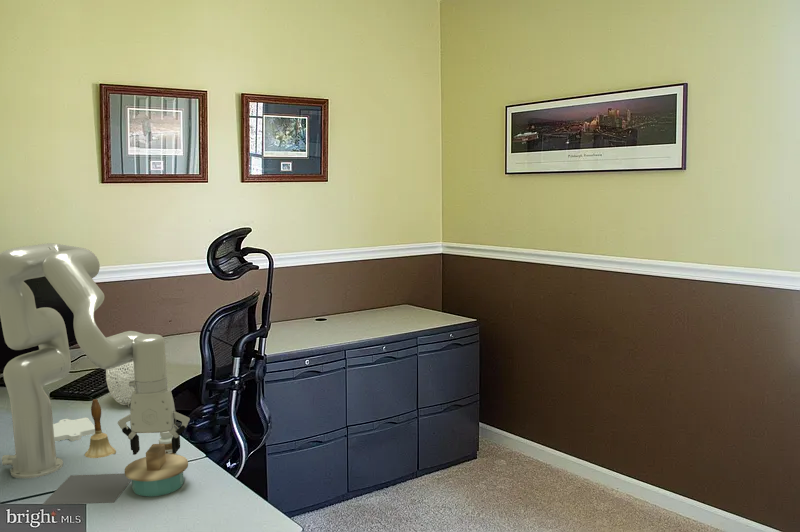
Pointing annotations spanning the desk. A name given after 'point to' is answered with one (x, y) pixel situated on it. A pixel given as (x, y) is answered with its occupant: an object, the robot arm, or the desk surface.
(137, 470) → the lid
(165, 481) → the bowl
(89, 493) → the mat
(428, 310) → the desk surface
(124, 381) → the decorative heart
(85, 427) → the mounting plate
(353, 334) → the desk surface
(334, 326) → the desk surface
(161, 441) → the pill bottle
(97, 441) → the hand bell
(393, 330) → the desk surface
